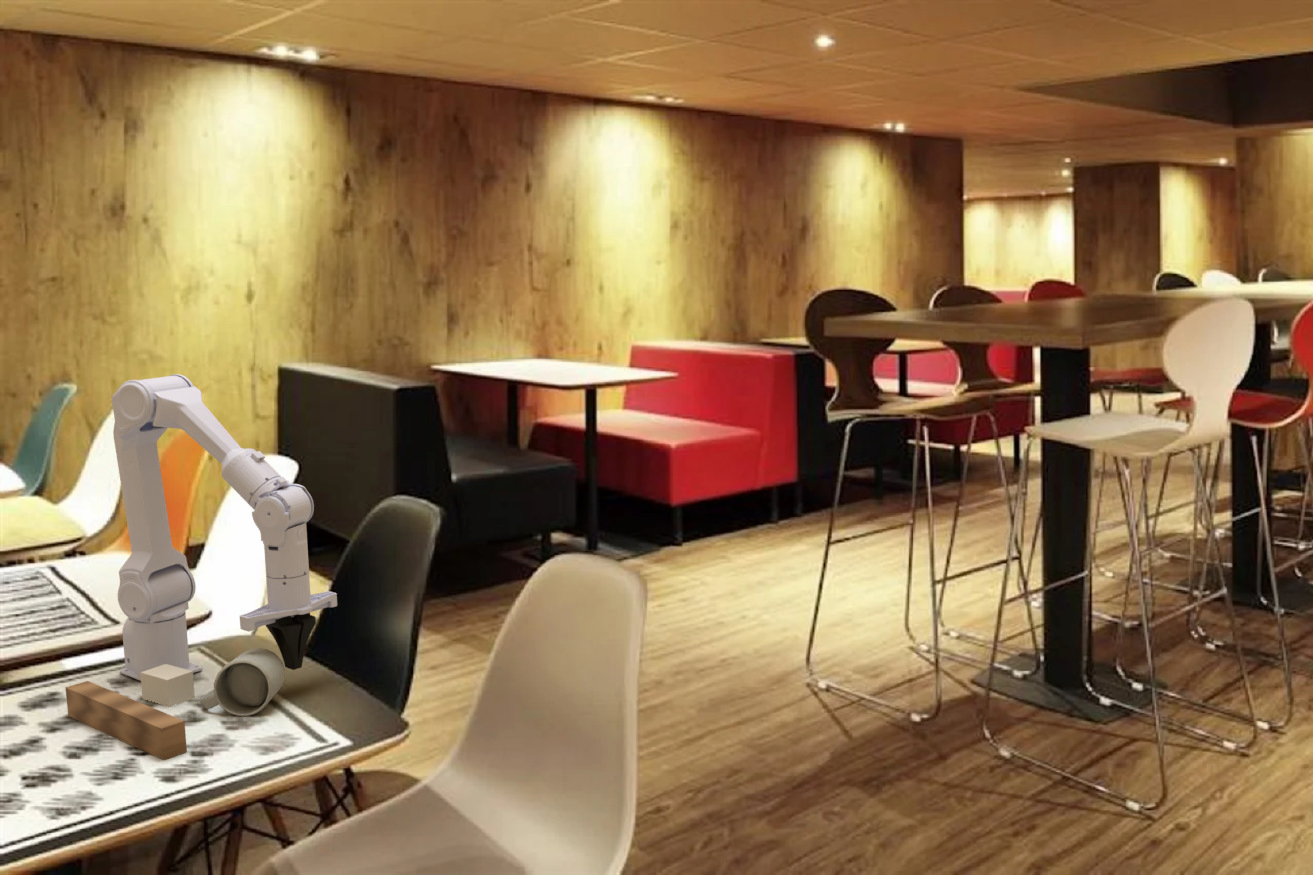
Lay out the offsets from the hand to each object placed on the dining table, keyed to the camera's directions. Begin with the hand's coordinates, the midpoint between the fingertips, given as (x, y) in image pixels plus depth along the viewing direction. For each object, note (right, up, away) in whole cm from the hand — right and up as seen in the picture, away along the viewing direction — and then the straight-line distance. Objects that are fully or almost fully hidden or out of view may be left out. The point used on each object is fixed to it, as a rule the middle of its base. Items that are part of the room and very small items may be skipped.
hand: (293, 667), depth 164 cm
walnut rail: (-17, -6, -14) cm, 23 cm away
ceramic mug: (-5, -5, -5) cm, 9 cm away
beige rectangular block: (-17, -4, -2) cm, 17 cm away
